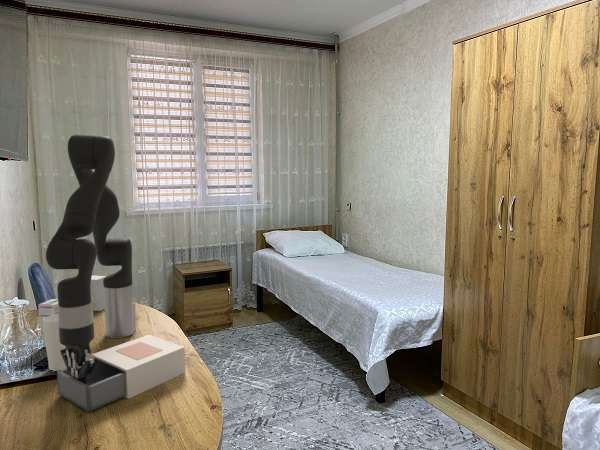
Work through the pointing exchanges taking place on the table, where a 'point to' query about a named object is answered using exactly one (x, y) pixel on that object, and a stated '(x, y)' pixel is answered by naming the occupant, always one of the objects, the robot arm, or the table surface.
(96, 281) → the small box
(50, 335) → the white cup
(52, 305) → the syrup box
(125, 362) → the mailer sleeve
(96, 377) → the tray
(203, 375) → the table surface
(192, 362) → the table surface
